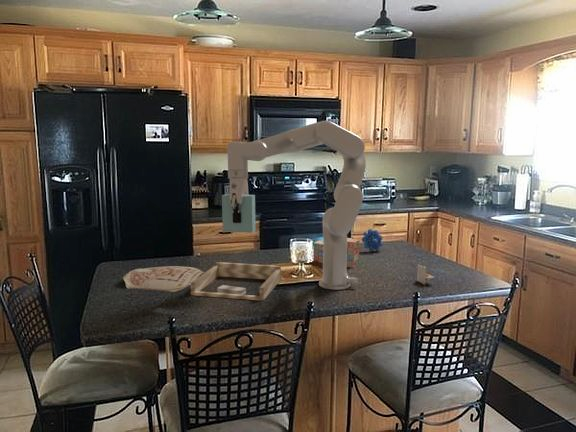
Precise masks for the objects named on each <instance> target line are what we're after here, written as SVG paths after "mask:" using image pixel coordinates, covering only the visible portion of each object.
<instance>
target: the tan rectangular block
mask: <svg viewBox="0 0 576 432" xmlns="http://www.w3.org/2000/svg"><path fill="white" fill-rule="evenodd" d="M313 246H314V261H313V263H314V262H315V263H320V264H323V240H318V241H314V242H313V243H312V247H313ZM359 259H360V239H356V238H351V237H347V268H356V267H357V266H359V264H360V260H359Z"/></svg>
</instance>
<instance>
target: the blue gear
mask: <svg viewBox="0 0 576 432" xmlns="http://www.w3.org/2000/svg"><path fill="white" fill-rule="evenodd" d="M362 235H363V237H362V238H361V242H362V243H364V244H363V246H364V248H365V249H368V250H369V252H374V250H375V251H376V252H378V251H380V247H382V246H383V244H384V243H383V241H382V240H383V236H382V235H381V234H379V231H378V230H373V228H368V230H367V231H364V232H363V234H362Z"/></svg>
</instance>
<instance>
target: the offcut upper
mask: <svg viewBox="0 0 576 432" xmlns="http://www.w3.org/2000/svg"><path fill="white" fill-rule="evenodd" d="M216 293H228V294H241V295H246V294H247V288H246V287H241V286H233V285H226V284H222V285H219V287H217V292H216Z"/></svg>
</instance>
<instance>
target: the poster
mask: <svg viewBox="0 0 576 432" xmlns="http://www.w3.org/2000/svg"><path fill="white" fill-rule="evenodd" d="M204 273H205V272H204V271H203V270H201V269H199V268H196V267H192V266H179V265H178V266H177V265H176V266H175V265H173V266H171V265H170V266H167V265H166V266H156V267H146V268H145V267H144V268H135V269H133V270H131V271H128V272H127V273H126V274H125V275H124V276H123V277H122V280H123V281H124V283H125V287H126V288H127V289H136V288H137V289H139V290H151V291H154V290H155V291H164V292H165V291H166V292H172V293H174V292H175V293H176V292H179V291H183V289H185V288H187V287H188V286H191V282H192V281H194V280H195V279H197V278H198V277H199V276H201V275H202V274H204Z"/></svg>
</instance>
